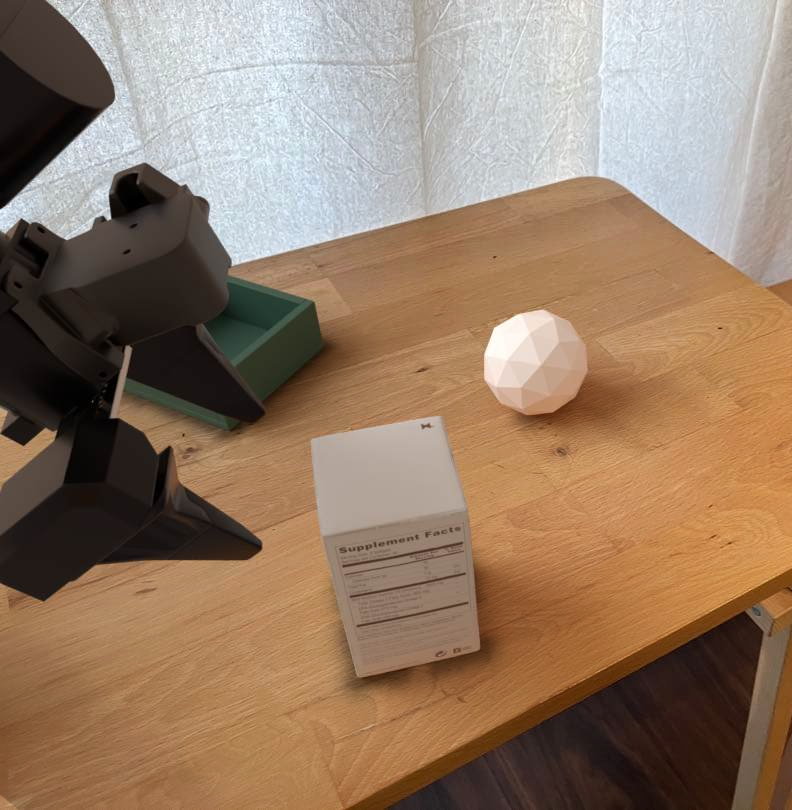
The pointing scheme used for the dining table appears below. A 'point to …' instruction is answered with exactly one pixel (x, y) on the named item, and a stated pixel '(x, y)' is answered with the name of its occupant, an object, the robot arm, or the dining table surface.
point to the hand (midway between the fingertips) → (258, 479)
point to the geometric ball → (535, 362)
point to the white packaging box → (397, 543)
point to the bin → (253, 344)
